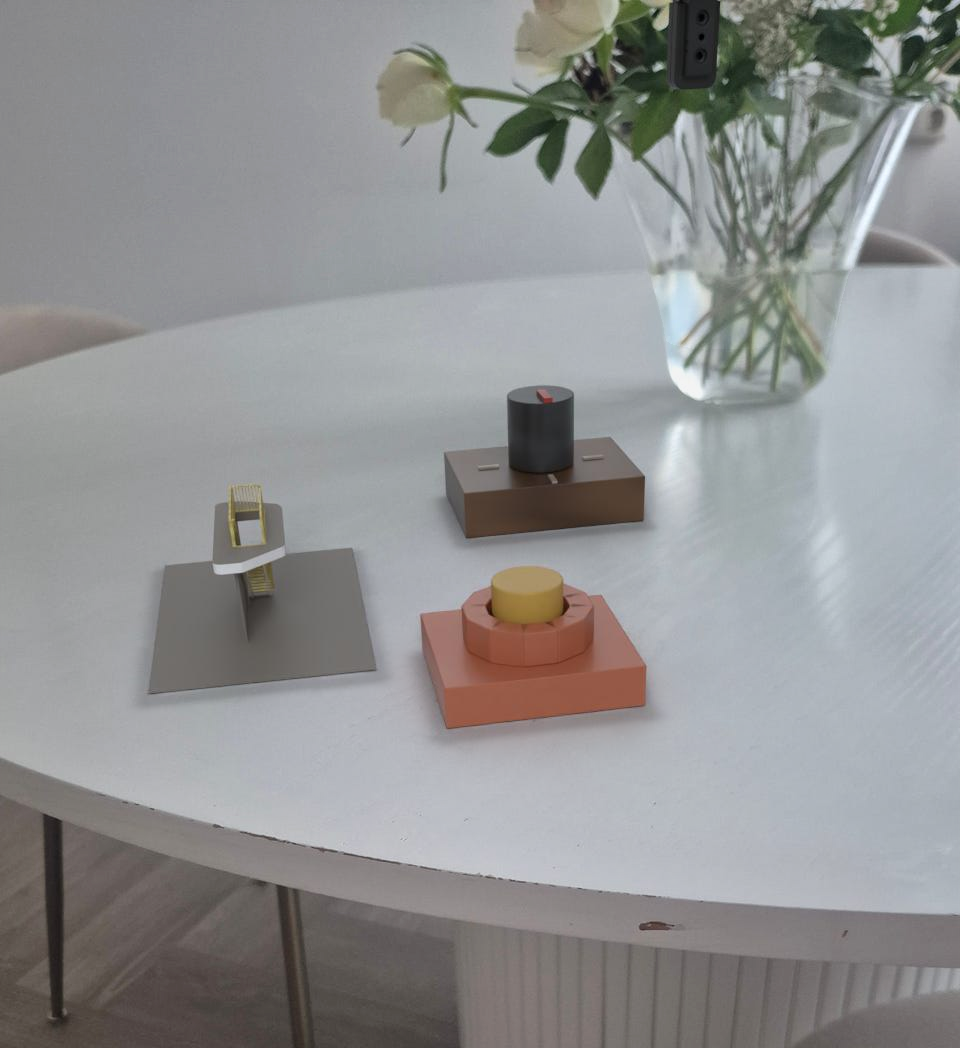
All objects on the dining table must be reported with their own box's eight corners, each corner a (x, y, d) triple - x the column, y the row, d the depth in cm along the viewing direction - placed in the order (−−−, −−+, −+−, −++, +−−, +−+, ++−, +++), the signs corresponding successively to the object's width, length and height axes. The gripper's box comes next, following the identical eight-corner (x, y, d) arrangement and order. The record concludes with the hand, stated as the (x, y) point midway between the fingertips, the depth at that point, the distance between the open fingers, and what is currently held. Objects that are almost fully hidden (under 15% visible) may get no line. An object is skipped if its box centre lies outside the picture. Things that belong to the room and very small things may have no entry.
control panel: (609, 478, 91) (610, 434, 89) (643, 520, 84) (645, 473, 82) (446, 493, 90) (443, 449, 88) (466, 538, 82) (463, 490, 81)
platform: (351, 547, 82) (341, 446, 78) (376, 669, 67) (365, 551, 63) (165, 565, 80) (145, 463, 77) (148, 693, 66) (123, 574, 62)
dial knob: (502, 456, 86) (500, 383, 84) (564, 449, 87) (564, 378, 84) (516, 476, 83) (515, 401, 80) (581, 469, 84) (581, 394, 81)
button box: (600, 631, 70) (602, 562, 68) (645, 705, 63) (648, 631, 60) (422, 650, 69) (417, 581, 66) (446, 728, 61) (442, 654, 59)
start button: (554, 594, 65) (554, 562, 64) (570, 622, 62) (570, 589, 61) (486, 601, 65) (485, 569, 64) (498, 630, 62) (497, 597, 61)
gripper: (856, -414, 50) (808, 92, 60) (743, -342, 61) (719, 77, 71) (674, -412, 49) (656, 101, 59) (593, -340, 60) (589, 84, 70)
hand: (690, 87), depth 65 cm, fingers closed
